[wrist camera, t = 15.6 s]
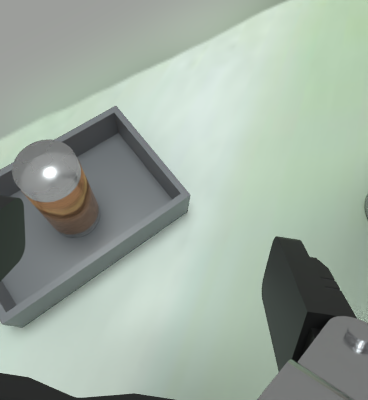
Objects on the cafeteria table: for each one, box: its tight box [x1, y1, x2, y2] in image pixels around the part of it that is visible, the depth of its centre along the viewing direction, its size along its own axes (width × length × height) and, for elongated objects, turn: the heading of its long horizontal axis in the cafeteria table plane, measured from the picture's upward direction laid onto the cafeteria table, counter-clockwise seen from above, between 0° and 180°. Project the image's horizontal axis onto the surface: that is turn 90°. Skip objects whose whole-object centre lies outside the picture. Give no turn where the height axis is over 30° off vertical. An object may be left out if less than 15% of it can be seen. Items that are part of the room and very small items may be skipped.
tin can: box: [12, 140, 100, 238], centre depth 39 cm, size 6×6×13 cm
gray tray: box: [0, 106, 190, 327], centre depth 43 cm, size 24×16×6 cm, turn 128°
